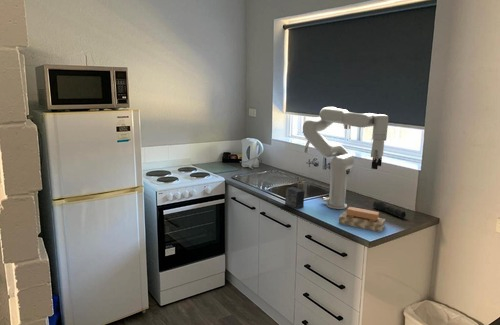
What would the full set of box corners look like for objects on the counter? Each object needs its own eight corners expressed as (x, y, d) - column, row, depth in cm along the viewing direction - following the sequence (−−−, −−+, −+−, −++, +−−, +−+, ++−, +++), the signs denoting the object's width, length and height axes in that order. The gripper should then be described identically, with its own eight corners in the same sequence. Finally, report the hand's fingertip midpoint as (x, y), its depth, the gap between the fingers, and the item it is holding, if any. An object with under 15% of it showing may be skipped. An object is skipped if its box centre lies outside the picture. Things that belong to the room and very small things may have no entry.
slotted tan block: (338, 223, 207) (339, 216, 206) (344, 217, 215) (344, 211, 215) (380, 232, 196) (381, 224, 195) (384, 226, 205) (385, 219, 204)
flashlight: (378, 207, 236) (378, 199, 235) (405, 218, 218) (406, 210, 217) (372, 208, 234) (373, 200, 233) (399, 219, 216) (400, 211, 215)
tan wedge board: (345, 223, 208) (346, 209, 206) (348, 220, 212) (349, 206, 210) (375, 229, 200) (377, 214, 198) (377, 226, 204) (379, 212, 202)
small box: (304, 207, 232) (305, 190, 230) (296, 209, 228) (297, 192, 226) (292, 202, 240) (293, 186, 238) (284, 204, 237) (285, 187, 234)
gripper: (375, 134, 221) (372, 163, 225) (368, 138, 206) (365, 169, 210) (389, 136, 218) (386, 165, 221) (383, 139, 203) (379, 171, 206)
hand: (376, 167), depth 216 cm, fingers open, 9 cm apart
